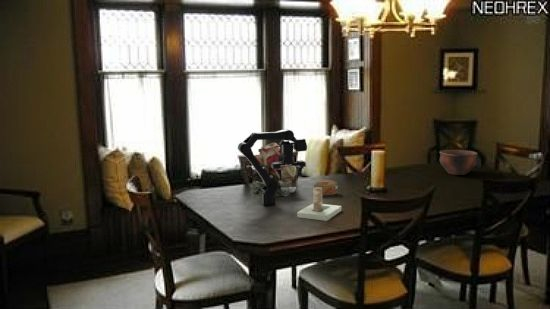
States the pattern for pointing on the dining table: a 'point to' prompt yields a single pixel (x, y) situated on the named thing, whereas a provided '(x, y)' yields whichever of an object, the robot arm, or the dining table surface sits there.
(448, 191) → the dining table surface
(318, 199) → the peg
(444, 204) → the dining table surface
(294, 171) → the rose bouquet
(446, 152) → the bowl
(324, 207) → the keyhole plate
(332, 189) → the tin
